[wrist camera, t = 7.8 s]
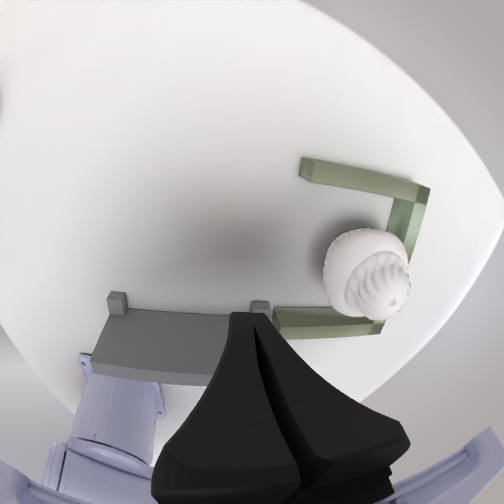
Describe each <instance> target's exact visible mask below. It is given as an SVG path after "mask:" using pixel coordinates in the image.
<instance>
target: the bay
mask: <svg viewBox="0 0 504 504" xmlns="http://www.w3.org/2000/svg"><path fill="white" fill-rule="evenodd" d="M299 176H301V177H302V178H304V179H306V180H307V181H309V182H311V183H317V184H323V185H330V186H336V187H342V188H347V189H353V190H358V191H364V192H369V193H374V194H379V195H384V196H389V197H393V198H395V199H394V204H393V208H392V212H391V216H390V219H389V223H388V227H387V230H386V231H388V232H390V233H392V234H394V235H395V236H397V237H398V238H399V239H400V241H401V242H402V244H403V245H404V247H405V250H406V253H407V257H408V264H409V261H410V259H411V256H412V253H413V250H414V247H415V243H416V240H417V237H418V234H419V230H420V227H421V224H422V220H423V216H424V213H425V209H426V205H427V201H428V197H429V193H430V188H427V187H425V186H422V185H420V184H417V183H414V182H412V181H409V180H405V179H401V178H398V177H394V176H390V175H386V174H382V173H378V172H374V171H370V170H366V169H361V168H357V167H352V166H347V165H342V164H337V163H332V162H327V161H322V160H316V159H310V158H305V157H302V159H301V165H300V172H299ZM272 321H273V325H274V326H275V327H276V329H277V330H278V331H279V333H280V334H281V335H282V337H283V338H284V339H285V340H288V339H318V338H336V337H351V336H363V335H374V334H380V332H381V330H382V328H383V326H384V324H385V321H386V319H385V320H370V319H368V318H367V317H366V316H362V317H352V316H347V315H344V314H341V313H339V312H338V311H336V310H335V309H334V308H333V307H320V308H296V307H274V312H273V317H272Z"/></svg>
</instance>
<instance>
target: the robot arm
mask: <svg viewBox="0 0 504 504" xmlns="http://www.w3.org/2000/svg"><path fill="white" fill-rule="evenodd" d="M90 359H91V356H89V355H83V354H80V355H79V356H78V360H79V363H80V365H81V368H82V370H83V372H84V375H85V377H86V379H87V383H86V386H85V388H84V391H83V394H82V397H81V400H80V403H79V406H78V409H77V413H76V416H75V419H74V423H73V426H72V429H71V433H70V437H69V439H68V441H67V443H65V442H63V441H61V440H59V441H58V442H53V443H52V446H51V448H50V452H49V455H48V459H47V463H46V467H45V471H44V475H43V480H42V484H40V483H37V482H35V481H33V480H31V479H29V478H28V477H27V476H26V475H24V474H23V473H22V472H20V471H19V470H17V469H16V468H14V467H12V466H11V465H9V464H7V463H5V462H3V461H2V460H0V504H387V503H388V504H470V503H471V502H472V501H473V500H474V499H475V498H476V497H477V495H479V494H480V493H481V492H482V490H483V489H484V488H485V487H486V486H487V485H488V484H489V483H490V482H491V481H492V480H493V479H494V478H495V477H496V476H497V475H498V474H499V473H500V472H501V471H502V470H503V469H504V448H503V446H502V445H501V443H500V441H499V440H498V438H497V436H496V435H495V433H494V432H493V430H492V428H491V427H490V426H488V427H487V428H485V429H484V430H483V431H481V432H480V433H478V434H477V435H476V436H475V437H473V438H472V439H471V440H470V441H469V442H468V443H466V444H465V446H464V447H462V448H461V449H459V450H458V451H456V452H455V453H453V454H451V455H450V456H448V457H446V458H445V459H443V460H441V461H439V462H438V463H436V464H434V465H432V466H430V467H428V468H427V469H425V470H423V471H421V472H419V473H417V474H415V475H413V476H411V477H409V478H406V479H404V480H402V481H400V482H398V483H395V484H393V485H392V484H391V482H390V480H389V476H391V475H392V472H391V469H390V467H389V466H390V465H391V464H393V463H394V462H395V461H396V460H397V459H399V458H400V457H401V456H402V455H403V454H404V453H405V452H406V451H407V450H408V449H409V447H410V441H409V439H408V437H407V435H406V433H405V431H404V429H403V427H402V425H401V424H400V422H399V421H397V420H394V419H392V418H389V417H387V416H385V415H382V414H380V413H378V412H375V411H373V410H371V409H369V408H368V407H365V406H364V405H362V404H360V403H358V402H357V401H355V400H353V399H352V398H350V397H348V396H347V395H345V394H344V393H342V392H341V391H339V390H338V389H336V388H335V387H334V386H332V385H331V384H330V383H328V382H327V381H326V380H325V379H323V378H322V377H321V376H320V375H319V374H317V373H316V372H315V371H314V370H313V369H312V368H311V367H310V366H309V365H308V364H307V363H306V362H305V361H304V360H303V359H302V358H301V357H300V356H299V355H298V354H297V353H296V352H295V351H294V350H293V348H292V347H291V346H290V345H289V344H288V343H287V341H286V340H285V339H284V338H283V337H282V335H281V334H280V333H279V331H278V330H277V329H276V327H275V326H274V325H273V323H272V322H271V321H270V319H269V318H268V317H267V315H266V314H265V313H253V312H232V313H231V314H230V317H229V327H228V337H227V341H226V344H225V348H224V351H223V353H222V356H221V358H220V361H219V363H218V366H217V368H216V370H215V372H214V375H213V377H212V379H211V381H210V382H209V384H208V386H207V388H206V390H205V391H204V393H203V395H202V397H201V398H200V400H199V401H198V403H197V405H196V406H195V407H194V409H193V410H192V412H191V413H190V414H189V416H188V417H187V419H186V420H185V421H184V423H183V424H182V425H181V427H180V428H179V429H178V430H177V431H176V433H175V434H174V435H173V436H172V437H171V438H170V439H169V441H168V442H167V443H166V444H165V445H164V447H163V449H162V451H161V453H160V455H159V457H158V460H157V462H156V464H155V467H151V466H150V464H151V462H152V459H153V449H154V438H155V428H156V418H158V419H164V418H165V411H164V406H163V401H162V397H161V392H160V386H159V383H156V382H147V381H138V380H131V379H124V378H118V377H111V376H106V375H100V374H95V373H94V372H93V369H92V367H91V364H90Z"/></svg>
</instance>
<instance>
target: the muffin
mask: <svg viewBox="0 0 504 504" xmlns="http://www.w3.org/2000/svg"><path fill="white" fill-rule="evenodd" d="M407 269H408V257H407V253H406V250H405V247H404V245H403V244H402V242H401V241H400V239H399V238H398V237H397V236H395V235H394V234H392V233H390V232H388V231H384V230H378V229H371V228H366V229H364V228H361V229H357V230H353V231H349V232H345V233H343V234H340V235H339V237H336V239H335V240H333V242H331V245H330V246H329V248H328V251H327V254H326V258H325V262H324V268H323V273H324V276H323V284H324V290H325V294H326V296H327V299H328V301H329V303H330V304H331V306H332V307H333V308H334V309H335V310H336V311H338V312H339V313H341V314H344V315H347V316H352V317H362V316H366V317H367V318H368V319H370V320H385V319H387V318H388V317H393V316H394V315H395V313H396V312H399V311H400V310H401V306H403V305H405V304H406V299H407V298H408V297H409V295H410V294H409V290H410V287H411V284H410V283H409V275H408V274H407Z"/></svg>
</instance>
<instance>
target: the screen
mask: <svg viewBox="0 0 504 504" xmlns="http://www.w3.org/2000/svg"><path fill="white" fill-rule="evenodd" d="M107 302H108V308H109V313H110V315H109V317H108V319H107V321H106V324H105V326H104V328H103V330H102V333H101V335H100V337H99V339H98V342H97V344H96V346H95V349H94V351H93V354H92V356H91V359H90V364H91V367H92V369H93V372H94V373H95V374H100V375H106V376H111V377H118V378H124V379H131V380H138V381H147V382H156V383H166V384H178V385H193V386H208V384H209V382H210V381H211V379H212V377H213V375H214V372H215V370H216V368H217V366H218V363H219V361H220V358H221V356H222V353H223V351H224V348H225V344H226V341H227V337H228V327H229V317H230V315H210V314H192V313H177V312H164V311H152V310H141V309H131V308H127V303H126V296H125V293H119V292H110V294H109V296H108V298H107ZM251 312H253V313H265V314H266V315H267V317H268V318H269V313H270V307H269V304H268V302H259V301H252V306H251Z"/></svg>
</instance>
